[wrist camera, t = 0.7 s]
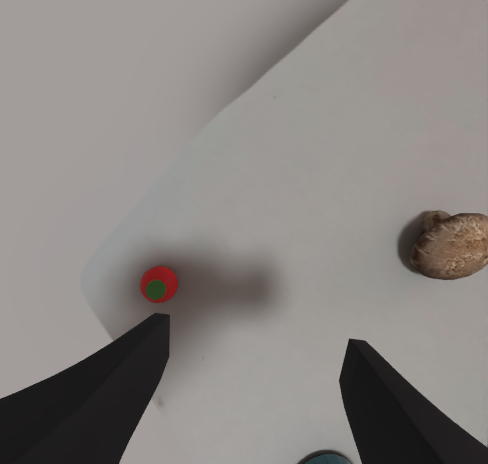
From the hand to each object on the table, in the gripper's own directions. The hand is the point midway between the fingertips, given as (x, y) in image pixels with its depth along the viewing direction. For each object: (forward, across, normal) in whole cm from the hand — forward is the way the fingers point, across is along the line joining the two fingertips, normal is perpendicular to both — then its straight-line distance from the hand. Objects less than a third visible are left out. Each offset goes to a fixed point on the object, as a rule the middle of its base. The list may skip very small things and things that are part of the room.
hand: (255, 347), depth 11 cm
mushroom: (+21, -18, +1) cm, 28 cm away
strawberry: (+14, +9, +5) cm, 17 cm away
